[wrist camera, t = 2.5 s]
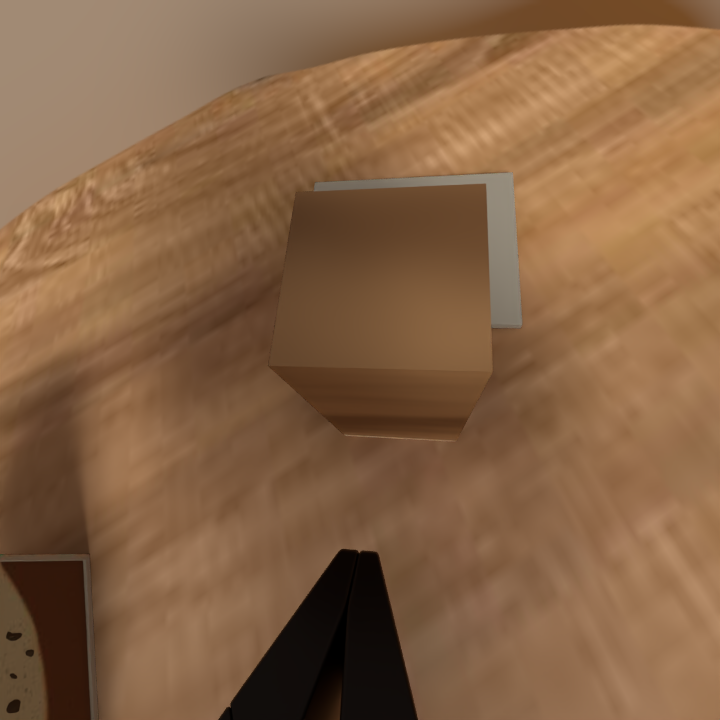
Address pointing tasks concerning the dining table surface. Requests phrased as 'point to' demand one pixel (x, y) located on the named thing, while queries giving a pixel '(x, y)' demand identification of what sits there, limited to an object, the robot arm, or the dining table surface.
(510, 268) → the mat
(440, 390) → the walnut block
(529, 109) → the dining table surface
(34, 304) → the dining table surface
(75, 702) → the food container
